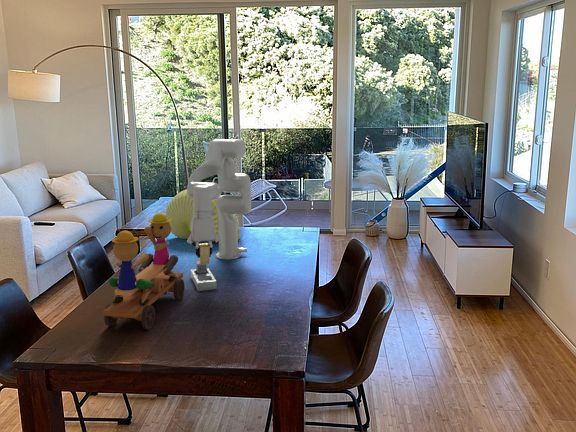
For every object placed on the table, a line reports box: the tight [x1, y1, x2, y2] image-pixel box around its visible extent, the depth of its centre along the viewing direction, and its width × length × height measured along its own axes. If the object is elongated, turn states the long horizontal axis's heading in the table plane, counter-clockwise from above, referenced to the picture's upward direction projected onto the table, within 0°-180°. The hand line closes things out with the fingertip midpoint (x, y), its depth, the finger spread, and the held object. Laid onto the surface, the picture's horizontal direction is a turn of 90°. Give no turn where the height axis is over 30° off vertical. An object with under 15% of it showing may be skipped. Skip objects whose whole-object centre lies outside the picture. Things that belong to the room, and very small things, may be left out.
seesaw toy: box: [102, 212, 185, 331], centre depth 217 cm, size 45×16×36 cm, turn 169°
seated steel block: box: [195, 260, 208, 275], centre depth 256 cm, size 4×4×8 cm
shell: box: [165, 188, 241, 243], centre depth 322 cm, size 44×31×30 cm
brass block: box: [198, 242, 211, 266], centre depth 244 cm, size 4×4×8 cm
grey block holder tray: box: [190, 267, 218, 292], centre depth 252 cm, size 8×19×4 cm, turn 18°
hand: (203, 256), depth 245 cm, fingers closed on brass block, 4 cm apart
